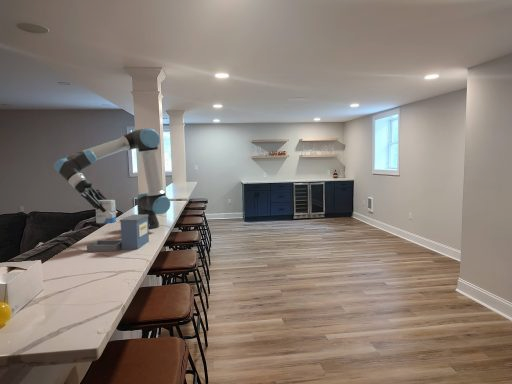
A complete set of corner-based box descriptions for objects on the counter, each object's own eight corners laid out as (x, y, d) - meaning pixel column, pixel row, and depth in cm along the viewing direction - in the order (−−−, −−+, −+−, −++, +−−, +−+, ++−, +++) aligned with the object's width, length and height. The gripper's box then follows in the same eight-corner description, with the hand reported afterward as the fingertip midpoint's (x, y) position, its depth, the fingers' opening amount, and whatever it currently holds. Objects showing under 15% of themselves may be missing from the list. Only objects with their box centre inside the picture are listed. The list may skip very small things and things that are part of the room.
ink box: (116, 221, 168) (115, 199, 167) (111, 223, 163) (110, 200, 162) (101, 221, 169) (100, 199, 167) (95, 223, 164) (94, 200, 162)
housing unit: (134, 241, 175) (132, 214, 174) (149, 241, 175) (148, 214, 174) (121, 249, 159) (119, 219, 157) (138, 249, 159) (137, 219, 157)
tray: (98, 245, 167) (97, 240, 166) (125, 245, 166) (125, 239, 166) (87, 251, 156) (86, 245, 156) (116, 251, 156) (116, 245, 155)
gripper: (74, 179, 155) (109, 212, 156) (94, 177, 173) (125, 207, 174) (64, 189, 156) (99, 223, 156) (85, 187, 174) (116, 217, 174)
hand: (113, 214), depth 165 cm, fingers closed on ink box, 5 cm apart
